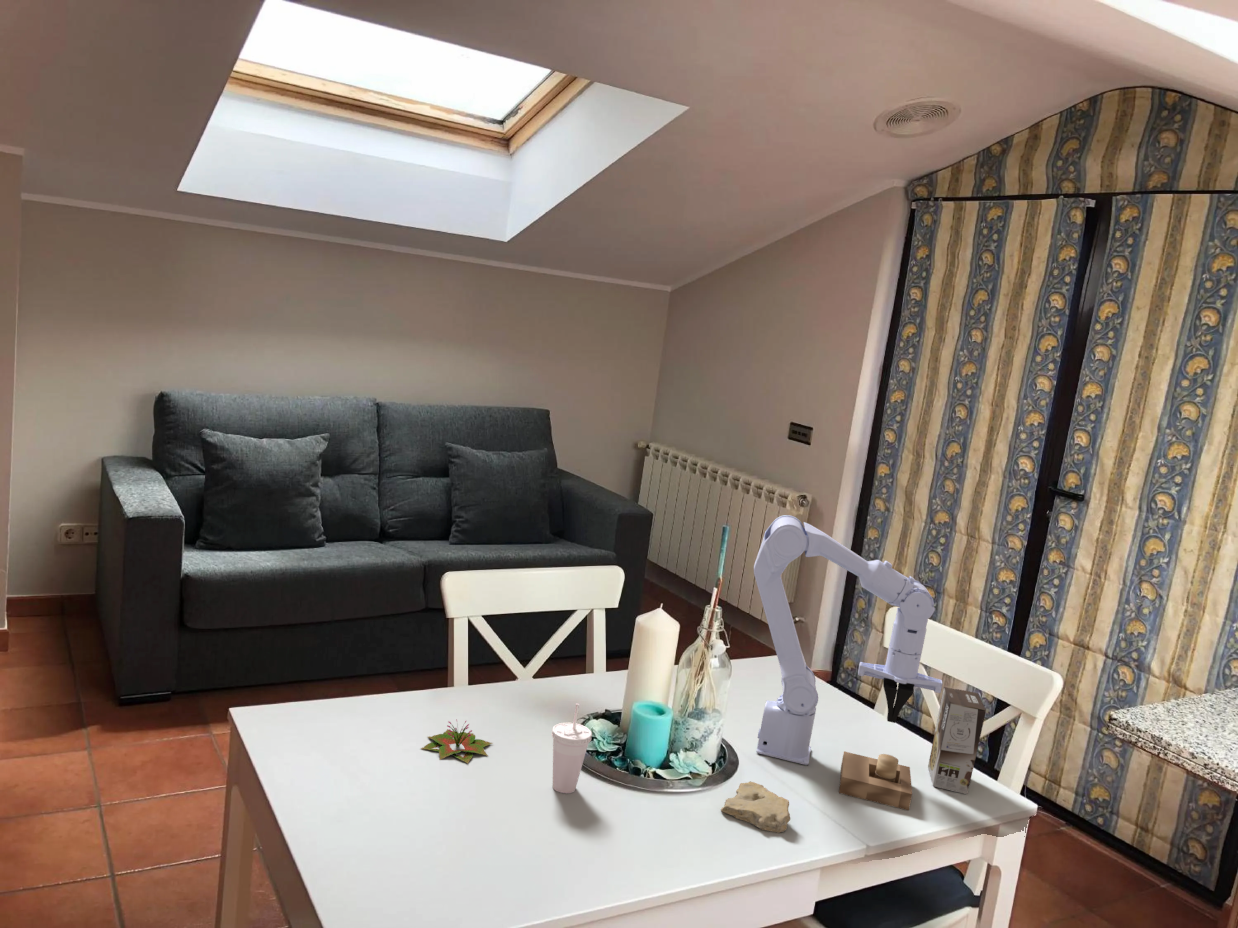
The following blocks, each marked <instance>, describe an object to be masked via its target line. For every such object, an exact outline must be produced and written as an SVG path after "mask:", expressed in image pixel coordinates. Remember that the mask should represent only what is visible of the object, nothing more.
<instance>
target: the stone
mask: <svg viewBox="0 0 1238 928" xmlns="http://www.w3.org/2000/svg"><path fill="white" fill-rule="evenodd" d="M735 792H736V794H735V796H734V797H729V798H728V797H727V798H726V799H725V802H724V806H723V807H721V809H720V811H721V812H722V813H724V814H727V815H730V816H733V817H734V818H735V819H737V820H741V821H744V822H745V823H750V824H751V825H753V826H755V827H757V828H759V829H760V830H761V831H766V832H772V833H779V834H780V833H783V832H786V830H787V829H788V827H787V826H788V823H789V822H790V821H791V814H790V812H789V807H790V801H789V800H788V799H786V798H784V797H782V796H779V795H777V794H776V793H774V792H772V791H770V790H768V788H766V787H765V786H764V785H763V784H760V783H756V782H754V781H748V782H741V783H739V786H738V788H737V789H736V790H735Z"/></svg>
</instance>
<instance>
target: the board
mask: <svg viewBox="0 0 1238 928" xmlns="http://www.w3.org/2000/svg"><path fill="white" fill-rule="evenodd" d="M841 760H842V761H841V764H840V777H839V786H838V787H839V789H838V790H839V791H838V793H839V794H841V795H845V796H850V797H853V798H857V799H861V800H864V801H865V800H866V801H869V802H874V803H877V804H881V805H885V806H889V807H893V806H894V807H893V808H897V809H901V810H905V811H910V807H911V802H912V797H913V787H912V776H911V767H910V766H907V765H902V764H899V763H898V766H897V771H896V779H895V782H894V783H893V782H889V781H885V780H881V779H877V778H875V771H876V767H877V762H878V758H875V757H869V756H865V755H860V754H858V753H857V754H856V753H854V752H853V753H852V752H848V751H843V754H842V759H841Z"/></svg>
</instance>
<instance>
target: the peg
mask: <svg viewBox="0 0 1238 928" xmlns="http://www.w3.org/2000/svg"><path fill="white" fill-rule="evenodd" d="M877 759H878V762H877V767H876V771H875V778H877V779H881V780H885V781H889V782H893V783H894V782H895V779H896V771H897V766H898V764H899V759H898V758H897V757H896V756H893V755H891V754H886V753H881V754H879V755H878V756H877Z"/></svg>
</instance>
